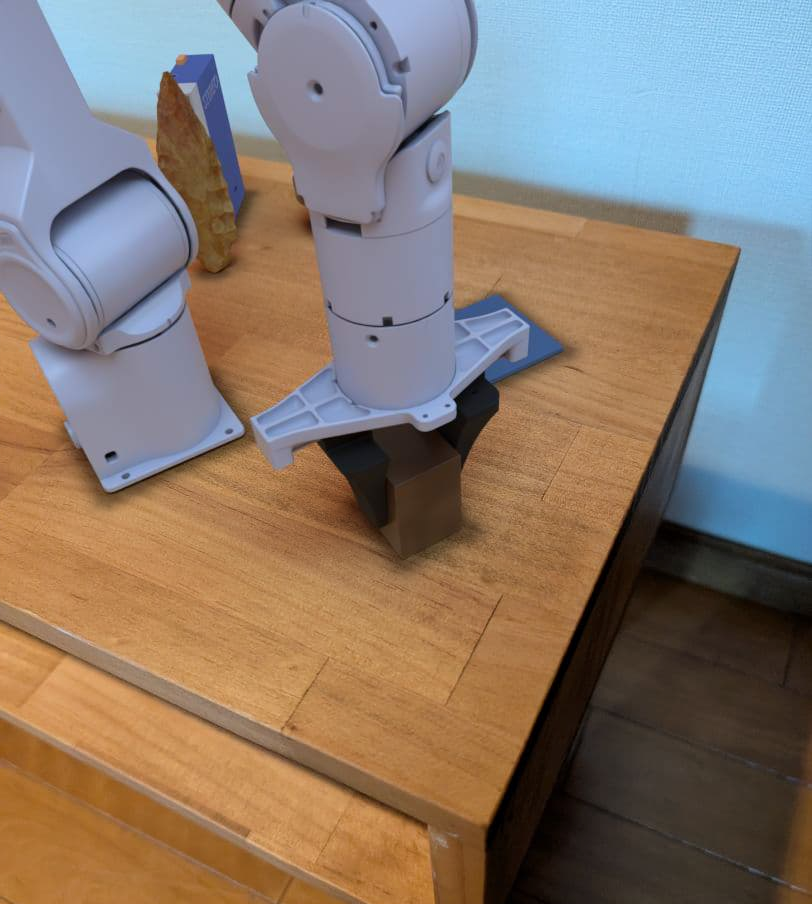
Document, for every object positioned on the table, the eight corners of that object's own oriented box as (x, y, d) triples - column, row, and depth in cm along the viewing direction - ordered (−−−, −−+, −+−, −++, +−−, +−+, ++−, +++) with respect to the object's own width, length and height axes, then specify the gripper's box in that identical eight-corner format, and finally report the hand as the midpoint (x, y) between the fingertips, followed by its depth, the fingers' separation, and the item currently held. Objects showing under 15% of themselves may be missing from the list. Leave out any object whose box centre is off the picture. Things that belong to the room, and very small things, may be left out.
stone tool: (192, 287, 62) (129, 85, 51) (182, 274, 64) (118, 74, 52) (250, 266, 64) (201, 64, 52) (238, 253, 65) (189, 54, 54)
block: (402, 560, 43) (394, 487, 39) (359, 505, 46) (346, 431, 42) (462, 529, 45) (461, 454, 40) (415, 478, 47) (410, 402, 43)
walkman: (216, 194, 72) (179, 50, 63) (246, 194, 72) (212, 48, 63) (196, 239, 67) (152, 90, 58) (227, 239, 67) (188, 88, 58)
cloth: (443, 406, 51) (443, 401, 51) (383, 346, 56) (382, 341, 56) (563, 351, 54) (564, 346, 54) (496, 298, 59) (496, 293, 59)
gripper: (277, 402, 29) (327, 606, 40) (579, 272, 34) (553, 488, 44) (207, 313, 33) (269, 520, 44) (484, 207, 38) (481, 419, 48)
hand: (407, 499), depth 44 cm, fingers closed on block, 4 cm apart
